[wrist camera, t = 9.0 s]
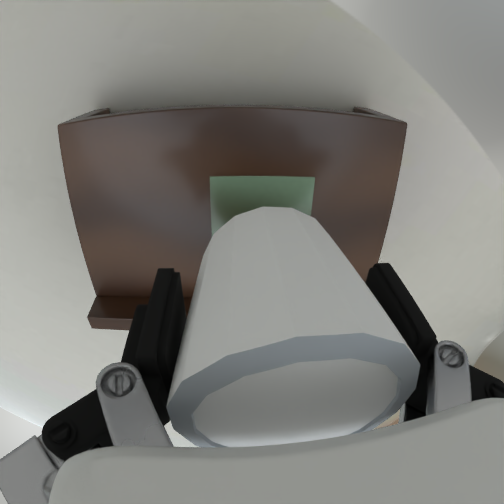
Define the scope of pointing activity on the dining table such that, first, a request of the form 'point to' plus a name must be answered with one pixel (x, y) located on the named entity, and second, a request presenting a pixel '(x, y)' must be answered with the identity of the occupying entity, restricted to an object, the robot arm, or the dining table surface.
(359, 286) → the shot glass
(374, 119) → the shelf
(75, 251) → the dining table surface
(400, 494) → the robot arm
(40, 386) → the dining table surface
